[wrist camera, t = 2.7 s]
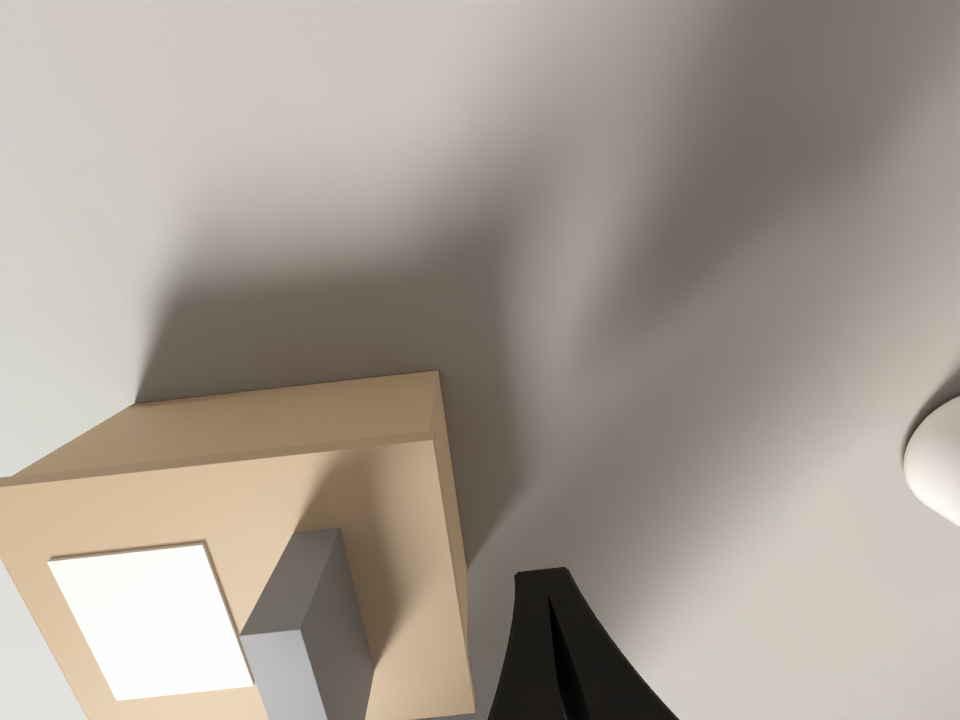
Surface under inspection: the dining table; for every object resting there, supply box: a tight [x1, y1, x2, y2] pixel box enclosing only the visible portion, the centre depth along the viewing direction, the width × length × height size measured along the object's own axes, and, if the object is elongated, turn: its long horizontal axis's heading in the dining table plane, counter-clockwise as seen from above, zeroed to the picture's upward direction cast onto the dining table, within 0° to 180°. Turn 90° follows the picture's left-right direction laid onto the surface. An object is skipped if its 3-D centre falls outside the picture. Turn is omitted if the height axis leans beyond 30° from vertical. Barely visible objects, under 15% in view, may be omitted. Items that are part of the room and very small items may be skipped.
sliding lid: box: [0, 430, 475, 720], centre depth 11 cm, size 11×9×4 cm
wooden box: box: [11, 370, 468, 648], centre depth 16 cm, size 11×9×5 cm
